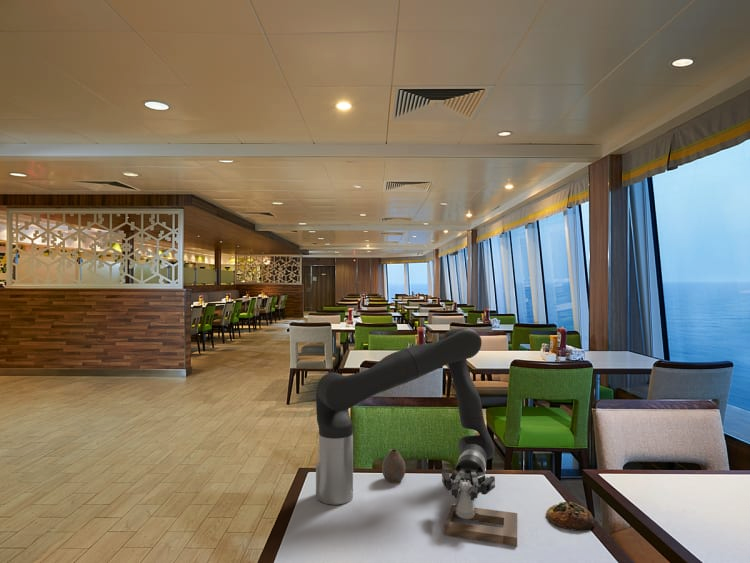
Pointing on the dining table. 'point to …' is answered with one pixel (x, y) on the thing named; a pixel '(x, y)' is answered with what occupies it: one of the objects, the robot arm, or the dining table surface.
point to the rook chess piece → (465, 501)
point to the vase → (393, 467)
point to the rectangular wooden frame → (484, 532)
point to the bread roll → (570, 516)
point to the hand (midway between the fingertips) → (463, 495)
